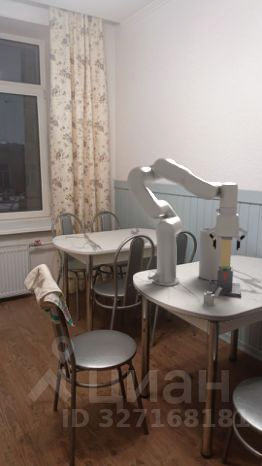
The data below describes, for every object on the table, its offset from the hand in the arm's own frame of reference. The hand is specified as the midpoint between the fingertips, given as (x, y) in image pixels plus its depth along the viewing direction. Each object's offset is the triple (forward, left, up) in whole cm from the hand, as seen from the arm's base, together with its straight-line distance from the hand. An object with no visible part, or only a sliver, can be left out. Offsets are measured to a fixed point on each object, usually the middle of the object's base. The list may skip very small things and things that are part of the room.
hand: (226, 249), depth 151 cm
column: (0, 0, -11) cm, 11 cm away
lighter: (-15, -12, -20) cm, 28 cm away
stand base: (0, 0, -20) cm, 20 cm away
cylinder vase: (+6, +19, -20) cm, 28 cm away
